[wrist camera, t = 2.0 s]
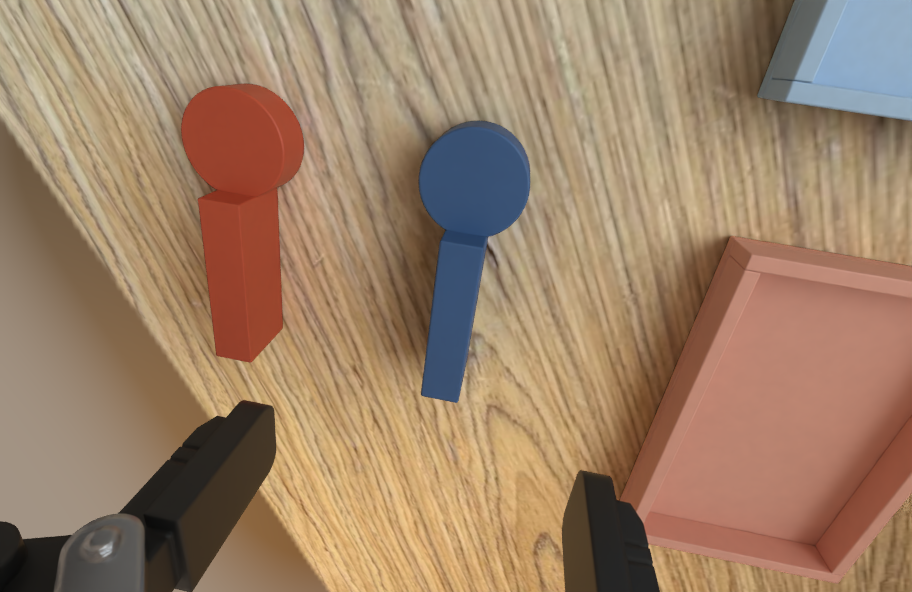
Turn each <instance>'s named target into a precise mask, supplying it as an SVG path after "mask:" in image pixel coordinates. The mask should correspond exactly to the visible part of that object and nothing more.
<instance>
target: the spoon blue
mask: <svg viewBox="0 0 912 592" xmlns="http://www.w3.org/2000/svg"><path fill="white" fill-rule="evenodd" d="M529 191H530V166H529V161H528V157H527V154H526V152H525V150H524V148H523V146H522V144H521V143H520V142H519V140H518V139H517V138H516V137H515V136H514V135H513V134H512V133H511V132H509V131H508V130H507V129H505V128H503V127H502V126H500V125H497V124H495V123H491V122H487V121H470V122H465V123H462V124H459V125H457V126H455V127H453V128H451V129H450V130H448V131H447V132H446V133H444V134H443V135H442V136H441V137H440V138H439V139H438V140H437V141H436V142H434V143H433V145H432V146H431V147H430V148H429V150H428V151H427V153H426V154H425V156H424V159H423V161H422V164H421V167H420V172H419V192H420V196H421V199H422V202H423V205H424V207H425V208H426V210H427V212H428V213H429V215H430V216H431V217H432V219H433V220H434V221H435V222H436V223H437V224H438V225H440V226H441V227H442V228H444V229H445V232H444V234H443V237H442V239H441V241H440V244H439V252H438V260H437V268H436V276H435V284H434V292H433V300H432V308H431V317H430V325H429V333H428V341H427V349H426V357H425V365H424V373H423V381H422V389H421V395H422V396H425V397H430V398H435V399H440V400H445V401H450V402H455V403H457V402H458V400H459V396H460V391H461V386H462V381H463V377H464V372H465V367H466V362H467V356H468V351H469V345H470V339H471V333H472V328H473V322H474V316H475V310H476V304H477V299H478V293H479V287H480V281H481V276H482V270H483V264H484V258H485V252H486V247H487V241H488V237H489V236H493V235H495V234H498V233H500V232H502V231H503V230H505V229H507V228H508V227H509V226H510V225H512V224H513V223H514V222H515V221H516V220H517V218H518V217H519V216H520V214H521V213H522V211H523V209H524V207H525V205H526V203H527V200H528V196H529Z"/></svg>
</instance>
